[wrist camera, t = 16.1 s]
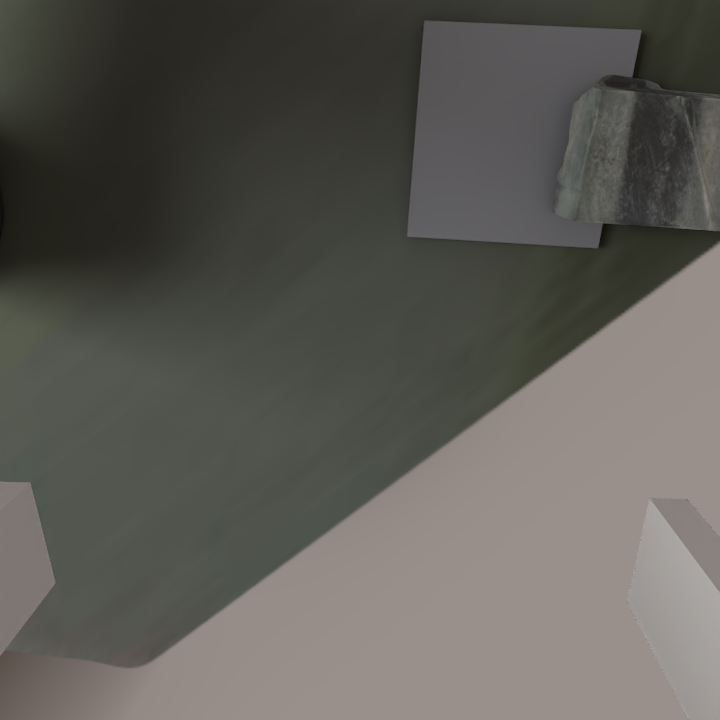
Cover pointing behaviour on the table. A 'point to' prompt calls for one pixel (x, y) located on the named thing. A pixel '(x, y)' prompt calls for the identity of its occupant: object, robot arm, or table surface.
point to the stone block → (642, 157)
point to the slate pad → (503, 127)
